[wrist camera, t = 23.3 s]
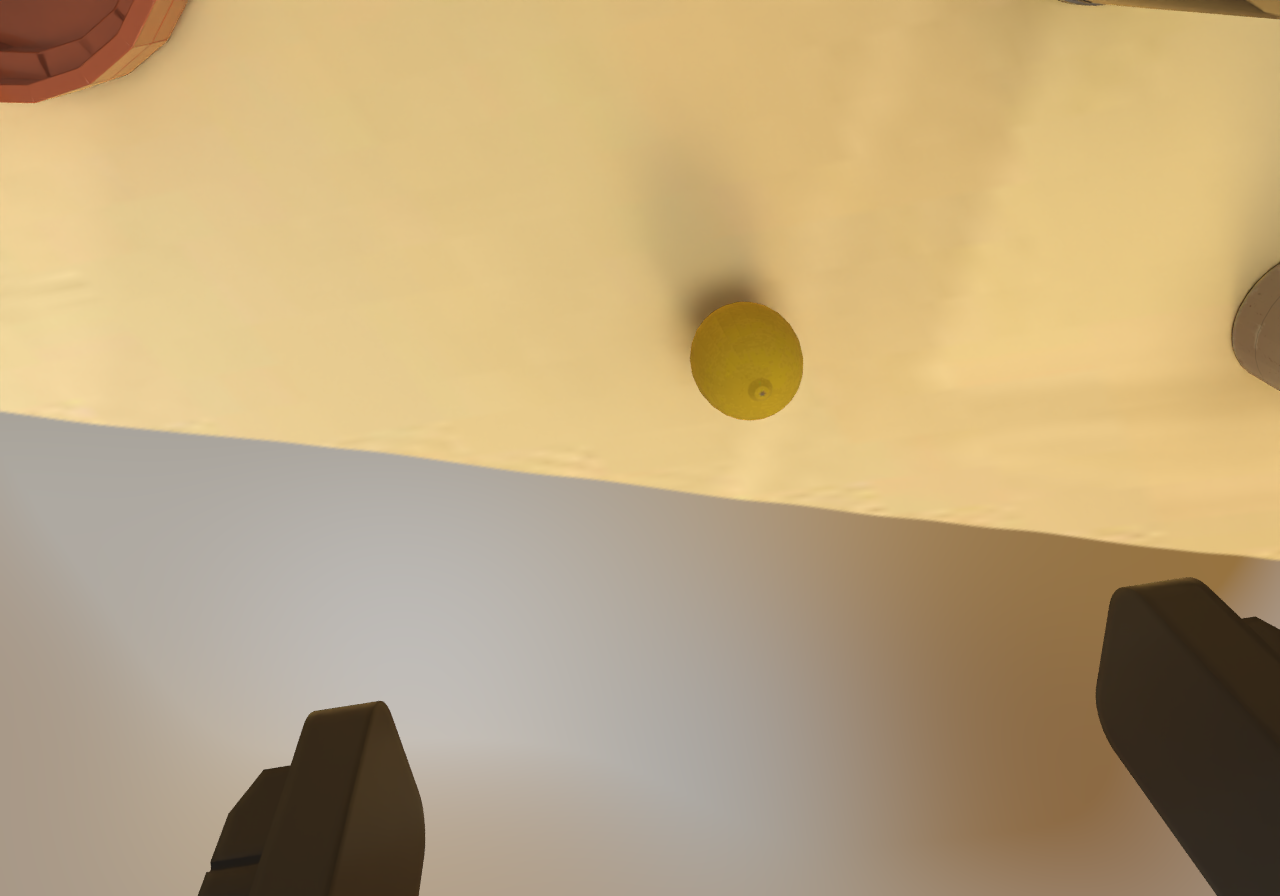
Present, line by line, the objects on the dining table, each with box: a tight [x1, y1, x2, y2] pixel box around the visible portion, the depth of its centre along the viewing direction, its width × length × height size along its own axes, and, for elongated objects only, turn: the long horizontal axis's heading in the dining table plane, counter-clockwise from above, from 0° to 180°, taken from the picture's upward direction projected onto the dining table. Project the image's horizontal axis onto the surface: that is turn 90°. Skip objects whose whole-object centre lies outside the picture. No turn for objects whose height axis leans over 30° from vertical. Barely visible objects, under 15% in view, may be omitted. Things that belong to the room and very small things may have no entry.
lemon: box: [690, 302, 803, 420], centre depth 45 cm, size 6×6×8 cm
